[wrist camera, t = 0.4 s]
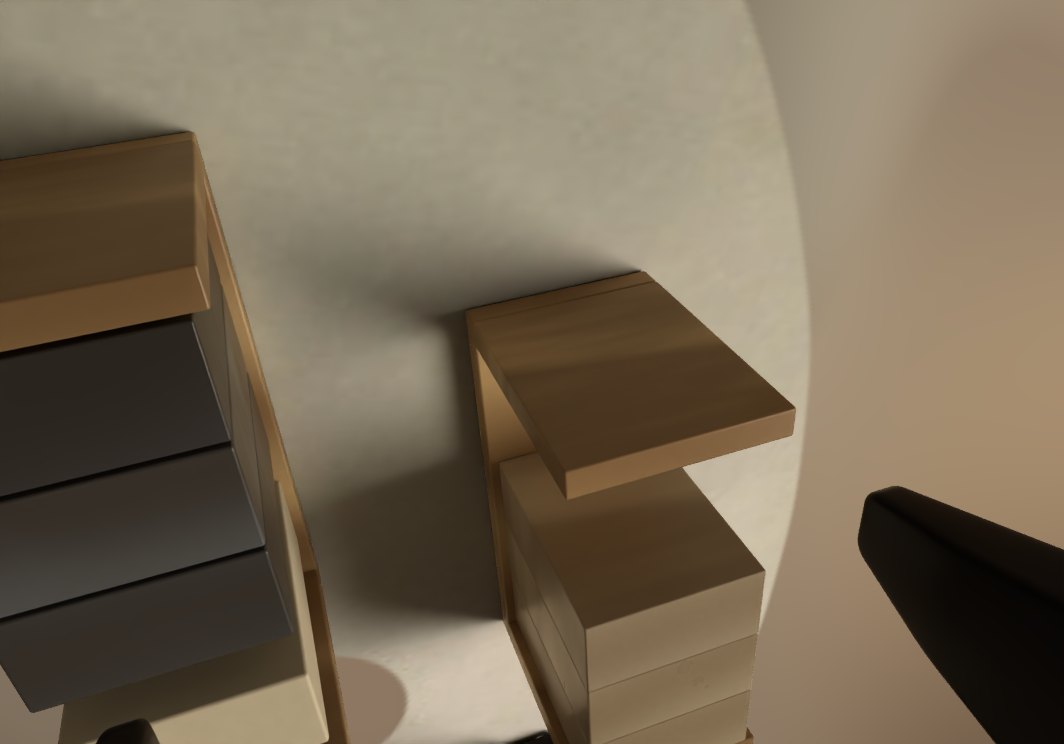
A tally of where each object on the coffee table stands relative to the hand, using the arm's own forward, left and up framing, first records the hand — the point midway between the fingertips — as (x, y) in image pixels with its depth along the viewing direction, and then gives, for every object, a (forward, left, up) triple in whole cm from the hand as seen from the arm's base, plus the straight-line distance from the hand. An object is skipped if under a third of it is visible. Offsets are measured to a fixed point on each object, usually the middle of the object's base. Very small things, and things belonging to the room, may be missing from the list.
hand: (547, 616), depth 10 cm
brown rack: (-10, -5, -14) cm, 18 cm away
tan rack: (-4, +6, -14) cm, 16 cm away
